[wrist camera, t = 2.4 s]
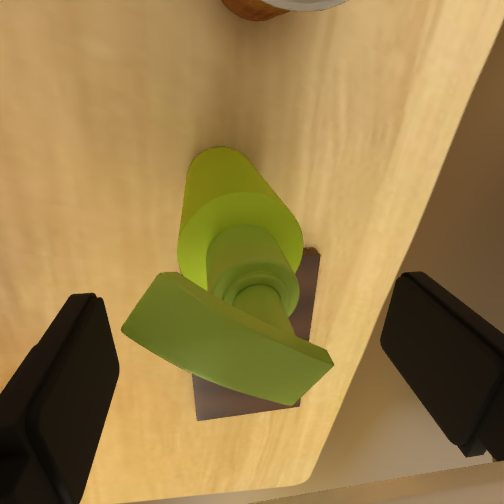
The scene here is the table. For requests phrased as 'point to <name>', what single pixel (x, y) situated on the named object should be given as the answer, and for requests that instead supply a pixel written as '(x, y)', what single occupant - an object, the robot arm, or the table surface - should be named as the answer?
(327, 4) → the disposable coffee cup
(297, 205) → the table surface
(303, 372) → the soap dispenser
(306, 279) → the walnut board
